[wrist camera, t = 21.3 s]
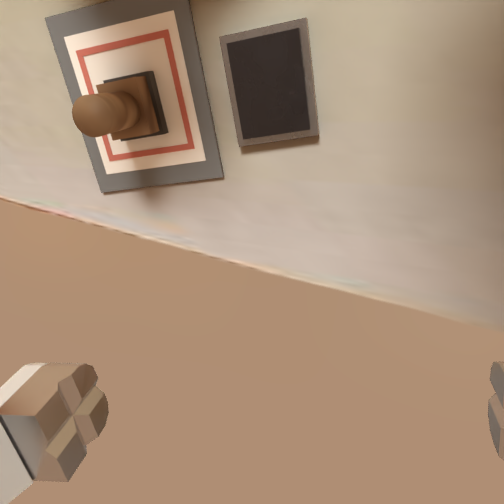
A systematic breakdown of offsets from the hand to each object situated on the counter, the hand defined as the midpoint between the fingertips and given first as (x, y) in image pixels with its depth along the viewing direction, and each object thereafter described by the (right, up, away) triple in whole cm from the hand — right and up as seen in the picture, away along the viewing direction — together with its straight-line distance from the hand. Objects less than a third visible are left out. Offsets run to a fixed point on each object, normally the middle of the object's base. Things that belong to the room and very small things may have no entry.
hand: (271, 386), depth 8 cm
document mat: (-12, +19, +34) cm, 40 cm away
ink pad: (+2, +19, +31) cm, 36 cm away
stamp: (-12, +18, +34) cm, 40 cm away
